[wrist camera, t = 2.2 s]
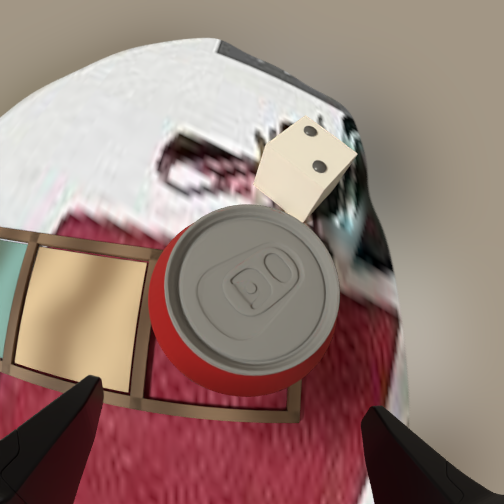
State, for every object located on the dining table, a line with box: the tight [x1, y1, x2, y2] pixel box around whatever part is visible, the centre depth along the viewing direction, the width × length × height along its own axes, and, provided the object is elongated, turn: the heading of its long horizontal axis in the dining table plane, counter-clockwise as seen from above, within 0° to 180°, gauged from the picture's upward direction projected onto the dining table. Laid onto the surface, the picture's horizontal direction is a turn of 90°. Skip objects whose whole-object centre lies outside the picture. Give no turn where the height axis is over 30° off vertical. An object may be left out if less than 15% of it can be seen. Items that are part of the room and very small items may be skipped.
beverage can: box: [148, 205, 340, 397], centre depth 15 cm, size 7×7×12 cm
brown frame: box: [0, 227, 302, 423], centre depth 19 cm, size 31×11×1 cm, turn 86°
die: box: [253, 115, 357, 223], centre depth 24 cm, size 5×5×5 cm
